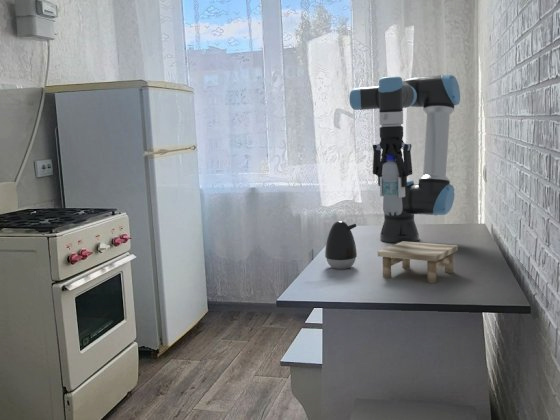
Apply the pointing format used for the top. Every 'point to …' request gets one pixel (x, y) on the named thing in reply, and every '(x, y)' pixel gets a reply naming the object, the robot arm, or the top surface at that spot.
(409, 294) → the top surface
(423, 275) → the top surface
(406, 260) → the footstool
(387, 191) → the bottle
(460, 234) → the top surface
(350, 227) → the pump dispenser
